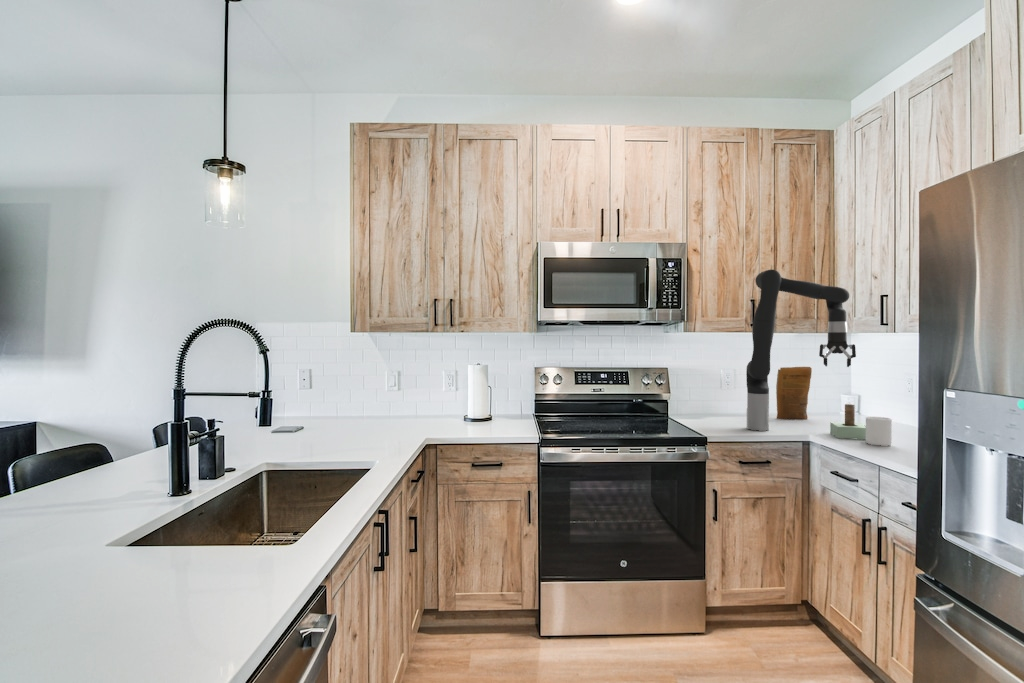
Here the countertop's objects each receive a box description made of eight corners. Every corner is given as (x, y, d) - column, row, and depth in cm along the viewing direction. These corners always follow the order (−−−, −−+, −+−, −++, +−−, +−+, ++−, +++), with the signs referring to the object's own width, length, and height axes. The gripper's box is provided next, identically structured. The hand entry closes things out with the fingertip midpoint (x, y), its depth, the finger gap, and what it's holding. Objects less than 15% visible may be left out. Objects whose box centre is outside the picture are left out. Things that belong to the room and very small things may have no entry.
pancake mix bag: (814, 420, 271) (815, 367, 271) (778, 419, 272) (778, 366, 272) (808, 418, 278) (808, 366, 278) (772, 417, 279) (772, 366, 278)
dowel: (846, 436, 226) (846, 405, 226) (843, 435, 229) (843, 404, 229) (855, 437, 225) (855, 405, 224) (853, 435, 228) (853, 404, 228)
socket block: (837, 438, 223) (837, 426, 223) (830, 433, 234) (830, 422, 234) (870, 439, 219) (870, 428, 219) (861, 434, 231) (861, 423, 231)
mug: (877, 440, 218) (877, 415, 218) (896, 446, 206) (896, 419, 206) (856, 440, 219) (856, 415, 218) (873, 446, 207) (874, 419, 206)
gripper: (819, 331, 238) (819, 366, 239) (856, 331, 232) (856, 367, 232) (819, 331, 245) (818, 365, 245) (854, 331, 238) (854, 366, 238)
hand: (837, 366), depth 239 cm, fingers open, 8 cm apart
